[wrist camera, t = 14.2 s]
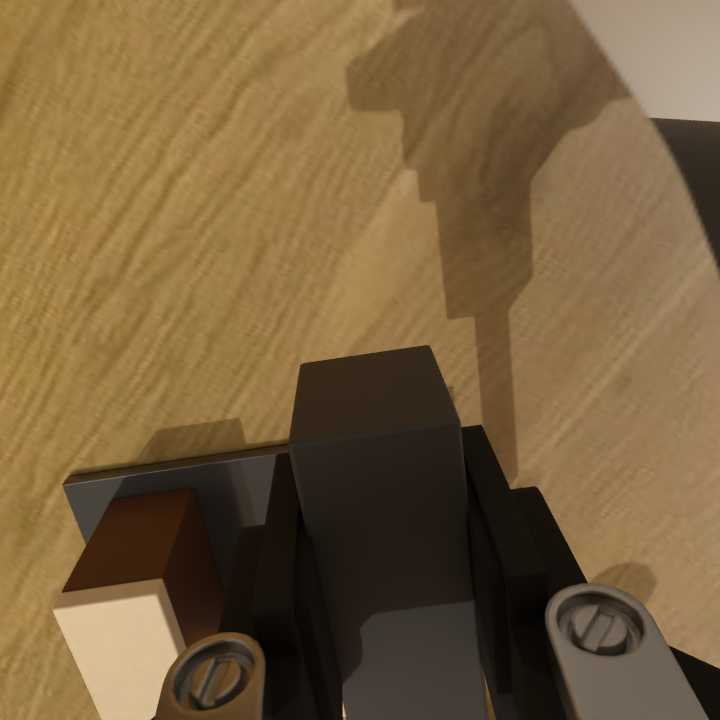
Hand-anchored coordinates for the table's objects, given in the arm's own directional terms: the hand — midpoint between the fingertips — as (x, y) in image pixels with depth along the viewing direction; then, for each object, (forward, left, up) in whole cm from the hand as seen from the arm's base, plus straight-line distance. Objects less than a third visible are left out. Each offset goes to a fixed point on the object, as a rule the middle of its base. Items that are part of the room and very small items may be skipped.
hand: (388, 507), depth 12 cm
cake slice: (+10, +10, -12) cm, 18 cm away
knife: (0, +6, 0) cm, 6 cm away
